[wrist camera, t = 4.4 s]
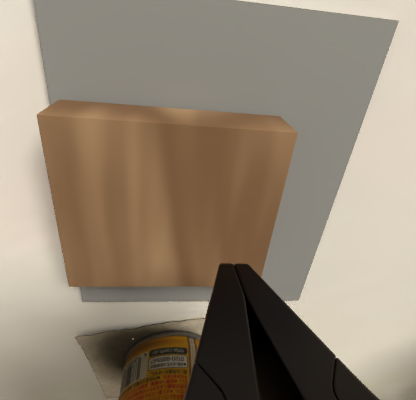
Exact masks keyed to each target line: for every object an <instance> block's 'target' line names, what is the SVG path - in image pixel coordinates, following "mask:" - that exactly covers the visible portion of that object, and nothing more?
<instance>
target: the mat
mask: <svg viewBox="0 0 416 400" xmlns="http://www.w3.org/2000/svg"><path fill="white" fill-rule="evenodd" d="M33 1H34V7H35V13H36V20H37V26H38V32H39V38H40V44H41V50H42V56H43V63H44V69H45V75H46V81H47V87H48V93H49V99H50V105H52V104H53V103H55V102H56V101H58V100H59V99H61V100H74V101H87V102H100V103H113V104H126V105H140V106H153V107H166V108H179V109H192V110H205V111H218V112H232V113H245V114H258V115H271V116H280V117H281V118H282V119H284V120H285V121H286V122H287V123H288V124H289V125H290V126H291V127H292V128H293V129H294V130H296V131H297V132H298V135H297V139H296V143H295V147H294V151H293V155H292V159H291V163H290V167H289V171H288V175H287V178H286V182H285V186H284V190H283V194H282V198H281V202H280V206H279V210H278V214H277V218H276V222H275V225H274V229H273V233H272V237H271V241H270V245H269V249H268V253H267V257H266V261H265V265H264V269H263V273H262V276H261V278H262V279H263V280H264V281H265V282H266V283H267V284H268V285H269V286H270V287H271V288H272V289H273V290H274V291H275V293H276V294H277V295H278V296H279V297H280V298H281V299H282V300H299V298H300V295H301V292H302V289H303V286H304V284H305V281H306V278H307V275H308V272H309V270H310V267H311V264H312V261H313V259H314V256H315V253H316V250H317V247H318V245H319V242H320V239H321V236H322V233H323V231H324V228H325V225H326V222H327V220H328V217H329V214H330V211H331V208H332V206H333V203H334V200H335V197H336V194H337V192H338V189H339V186H340V183H341V181H342V178H343V175H344V172H345V169H346V167H347V164H348V161H349V158H350V155H351V153H352V150H353V147H354V144H355V142H356V139H357V136H358V133H359V130H360V128H361V125H362V122H363V119H364V116H365V114H366V111H367V108H368V105H369V103H370V100H371V97H372V94H373V91H374V89H375V86H376V83H377V80H378V77H379V75H380V72H381V69H382V66H383V64H384V61H385V58H386V55H387V52H388V50H389V47H390V44H391V41H392V38H393V36H394V33H395V30H396V27H397V25H398V22H399V21H396V20H388V19H380V18H372V17H364V16H356V15H348V14H340V13H332V12H324V11H316V10H308V9H300V8H293V7H285V6H277V5H269V4H261V3H253V2H245V1H237V0H33ZM80 290H81V296H82V302H112V301H210V298H211V294H212V290H213V287H80Z"/></svg>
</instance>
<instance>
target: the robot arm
mask: <svg viewBox="0 0 416 400" xmlns="http://www.w3.org/2000/svg"><path fill="white" fill-rule="evenodd" d="M335 358H336V356H335V354H334V353H333V352H332V351H331V350H330V349H329V348H328V347H327V346H326V345H325V344H324V343H323V342H322V341H321V340H320V339H319V338H318V337H317V336H316V335H315V333H314V332H313V331H312V330H311V329H310V328H309V327H308V326H307V325H306V324H305V323H304V322H303V321H302V320H301V319H300V318H299V317H298V316H297V315H296V314H295V312H294V311H293V310H292V309H291V308H290V307H289V306H288V305H287V304H286V303H285V302H284V301H283V300H282V299H281V298H280V297H279V296H278V295H277V294H276V293H275V291H274V290H273V289H272V288H271V287H270V286H269V285H268V284H267V283H266V282H265V281H264V280H263V279H262V278H261V277H260V276H259V275H258V274H257V273H256V272H255V270H254V269H253V268H252V267H251V266H250V265H248V264H246V263H236V264H234V265H233V264H232V263H221V264H219V267H218V271H217V275H216V279H215V283H214V286H213V290H212V294H211V298H210V302H209V306H208V310H207V314H206V318H205V321H204V325H203V329H202V333H201V337H200V341H199V345H198V349H197V353H196V356H195V360H194V364H193V367H192V371H191V375H190V379H189V382H188V386H187V389H186V393H185V396H184V399H183V400H379V399H378V398H377V397H376V396H375V395H374V394H373V393H372V392H371V391H370V390H369V389H368V388H367V387H366V386H365V385H364V384H363V383H362V382H361V381H360V380H359V379H358V378H357V377H356V376H355V375H354V374H353V373H352V372H351V371H350V370H349V369H348V368H347V367H346V366H345V365H344V364H343V363H342V362H341V361H340V360H339V359H338V358H336V359H335Z"/></svg>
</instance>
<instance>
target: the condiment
mask: <svg viewBox="0 0 416 400" xmlns="http://www.w3.org/2000/svg"><path fill="white" fill-rule="evenodd" d="M204 321H205V319H194V320H186V321H182V322H168V323H164V324H155V325H151V326H143V327H141V328H137V329H133V330H131V329H125V330H119V331H108V332H103V333H99V334H95V335H90V336H79V337H75V338H76V340H77V341H78V343H79V345H81V347H82V349H83V351H84V353H85V355H86V357H87V359H88V360H89V362H90V364H91V366H92V368H93V370H94V372H95V373H96V376H97V379H98V381H99V383H100V385H101V386H102V388H103V392H104V394H105V396H106V398H111V397H119V400H183V399H184V396H185V393H186V389H187V386H188V382H189V379H190V375H191V371H192V367H193V364H194V360H195V356H196V353H197V349H198V345H199V341H200V337H201V333H202V329H203V325H204ZM132 338H134V340H132Z"/></svg>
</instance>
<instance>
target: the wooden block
mask: <svg viewBox="0 0 416 400" xmlns="http://www.w3.org/2000/svg"><path fill="white" fill-rule="evenodd" d="M37 119H38V125H39V130H40V135H41V141H42V146H43V151H44V156H45V162H46V167H47V172H48V178H49V183H50V188H51V194H52V199H53V204H54V210H55V215H56V220H57V225H58V231H59V236H60V241H61V247H62V252H63V257H64V263H65V268H66V273H67V279H68V284H69V287H213V286H214V283H215V279H216V275H217V271H218V267H219V264H221V263H232V264H233V265H234V264H236V263H246V264H248V265H250V266H251V267H252V268H253V269H254V270H255V272H256V273H257V274H258V275H259V276H260V277H261V276H262V273H263V269H264V265H265V261H266V257H267V253H268V249H269V245H270V241H271V237H272V233H273V229H274V225H275V222H276V218H277V214H278V210H279V206H280V202H281V198H282V194H283V190H284V186H285V182H286V178H287V175H288V171H289V167H290V163H291V159H292V155H293V151H294V147H295V143H296V139H297V135H298V132H297V131H296V130H294V129H293V128H292V127H291V126H290V125H289V124H288V123H287V122H286V121H285V120H284V119H282V118H281V117H280V116H271V115H258V114H245V113H232V112H218V111H205V110H192V109H179V108H166V107H153V106H140V105H126V104H113V103H100V102H87V101H74V100H61V99H59V100H58V101H56V102H55V103H53V104H52V105H50V106H49V107H47V108H46V109H44V110H43V111H41V112H40V113H38V114H37Z"/></svg>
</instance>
